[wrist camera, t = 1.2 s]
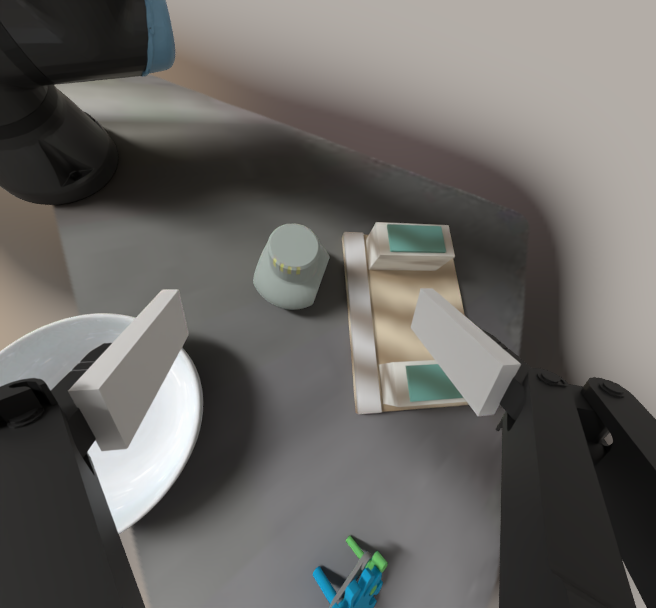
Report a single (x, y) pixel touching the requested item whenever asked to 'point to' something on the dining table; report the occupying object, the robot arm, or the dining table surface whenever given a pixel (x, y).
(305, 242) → the air freshener
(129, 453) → the serving bowl
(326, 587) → the gear
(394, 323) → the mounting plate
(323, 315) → the dining table surface
